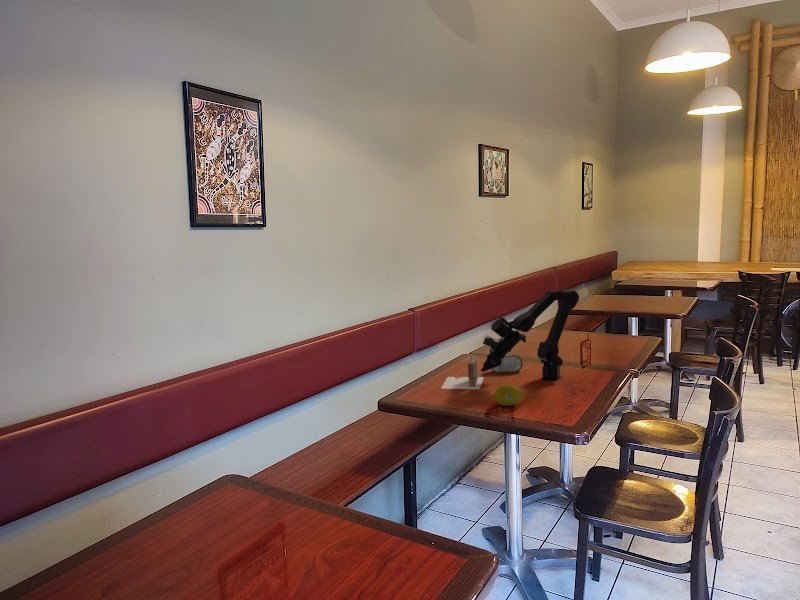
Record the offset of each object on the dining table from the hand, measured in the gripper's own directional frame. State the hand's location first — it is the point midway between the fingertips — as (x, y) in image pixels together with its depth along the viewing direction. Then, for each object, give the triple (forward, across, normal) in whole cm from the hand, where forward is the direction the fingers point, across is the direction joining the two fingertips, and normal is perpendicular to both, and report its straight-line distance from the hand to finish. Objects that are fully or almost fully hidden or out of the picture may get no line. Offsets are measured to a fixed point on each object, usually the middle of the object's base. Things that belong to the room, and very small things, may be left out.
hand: (482, 368), depth 244 cm
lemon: (-4, +29, +14) cm, 32 cm away
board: (+7, 0, +2) cm, 8 cm away
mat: (+11, 0, -1) cm, 11 cm away
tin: (-1, -20, +11) cm, 23 cm away
